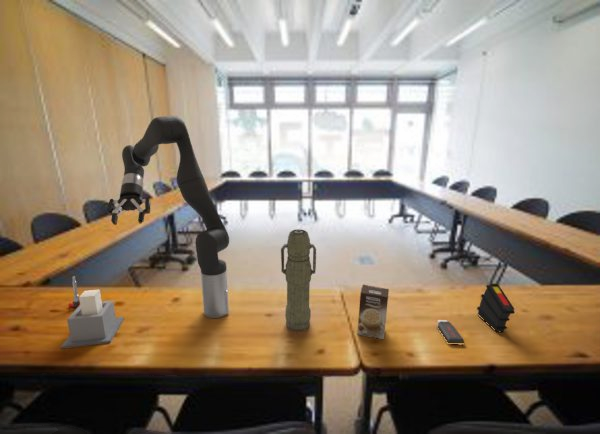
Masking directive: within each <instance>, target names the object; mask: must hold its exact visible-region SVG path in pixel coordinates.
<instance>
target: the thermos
mask: <svg viewBox="0 0 600 434" xmlns="http://www.w3.org/2000/svg"><path fill="white" fill-rule="evenodd" d="M286 242H287V243H284V244H283V245H282V247H281V248H280V256H281V257H280V260H281V263H280V264H281V273H282V274H283V275H285V281H286V306H285V327H286V328H287V329H289V330H290V331H293V332H294V331H295V332H302V331H305V330H307V329H308V328H309V327H311V326H310V325H311V312H312V310H311V308H310V288H311V287H310V283H311V280H312V276H313V275H314V274H316V269H317V248H316V247H315V244H313V243H311V239H310V236H309V233H308V231H306V230H305V229H301V228H300V229H299V228H298V229H293V230H291V231H290V232H289V234H288V236H287V241H286ZM285 249H287V251H286V253H287V256H286V257H287V258H286V259H287V261H286V263H285ZM311 249H312V251H313V252H312V264H311V260H310V259H311V258H310V254H311Z"/></svg>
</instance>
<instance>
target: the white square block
mask: <svg viewBox="0 0 600 434" xmlns="http://www.w3.org/2000/svg"><path fill="white" fill-rule="evenodd" d="M79 300H80V306H81V311H82V316H84V315H94V314H99V313H100V312H101V310H102V309H103V306H102V302H103V300H102V295H101V290H100V289H99V288H98V289H91V290H90V289H89V290H84V291H83V292H82V293H81V294H80V295H79Z"/></svg>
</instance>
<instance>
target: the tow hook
mask: <svg viewBox="0 0 600 434" xmlns="http://www.w3.org/2000/svg"><path fill="white" fill-rule="evenodd" d="M71 284H72V289H73V301H72V302H70V303H68V307H69V308H76V309H77V308H78V307H79V306H80V300H79V297H80V295H79V294H78V287H77V286H78V285H77V280H76V276H75V275H73V276H72V282H71Z"/></svg>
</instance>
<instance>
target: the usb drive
mask: <svg viewBox="0 0 600 434" xmlns="http://www.w3.org/2000/svg"><path fill="white" fill-rule="evenodd" d="M437 322H438V325H437V329H438V328H439V330H440V331H441V333H442V334H443V336H444V337H445V339H446V340H447V342H448V343H464V344H465V340H464V338H463V336H461V333H459V332H458V330H457V328H456V327H455V326H454V324H452V323H451V322H450V321H448V320H447V319H437V321H436V323H437ZM439 330H438V331H439ZM441 333H440V334H441Z"/></svg>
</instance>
